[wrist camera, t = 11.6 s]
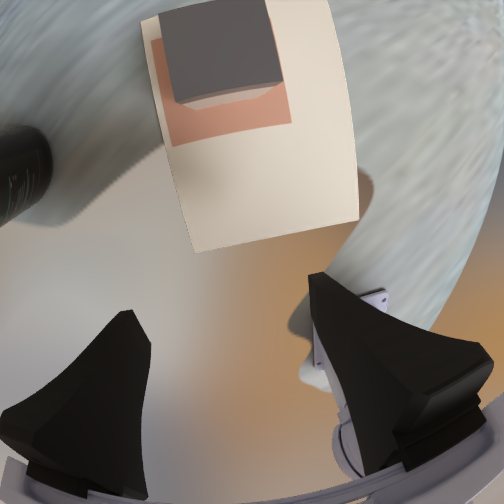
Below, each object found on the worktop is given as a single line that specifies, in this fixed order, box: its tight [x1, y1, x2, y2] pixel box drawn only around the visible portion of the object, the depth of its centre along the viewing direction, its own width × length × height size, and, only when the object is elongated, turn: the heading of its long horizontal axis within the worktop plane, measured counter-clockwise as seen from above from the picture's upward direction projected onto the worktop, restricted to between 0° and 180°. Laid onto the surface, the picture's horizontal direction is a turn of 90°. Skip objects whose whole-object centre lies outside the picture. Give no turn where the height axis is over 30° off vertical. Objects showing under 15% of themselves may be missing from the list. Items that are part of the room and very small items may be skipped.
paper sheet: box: [141, 0, 359, 253], centre depth 16 cm, size 18×13×1 cm
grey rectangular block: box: [158, 0, 283, 110], centre depth 11 cm, size 4×4×8 cm
